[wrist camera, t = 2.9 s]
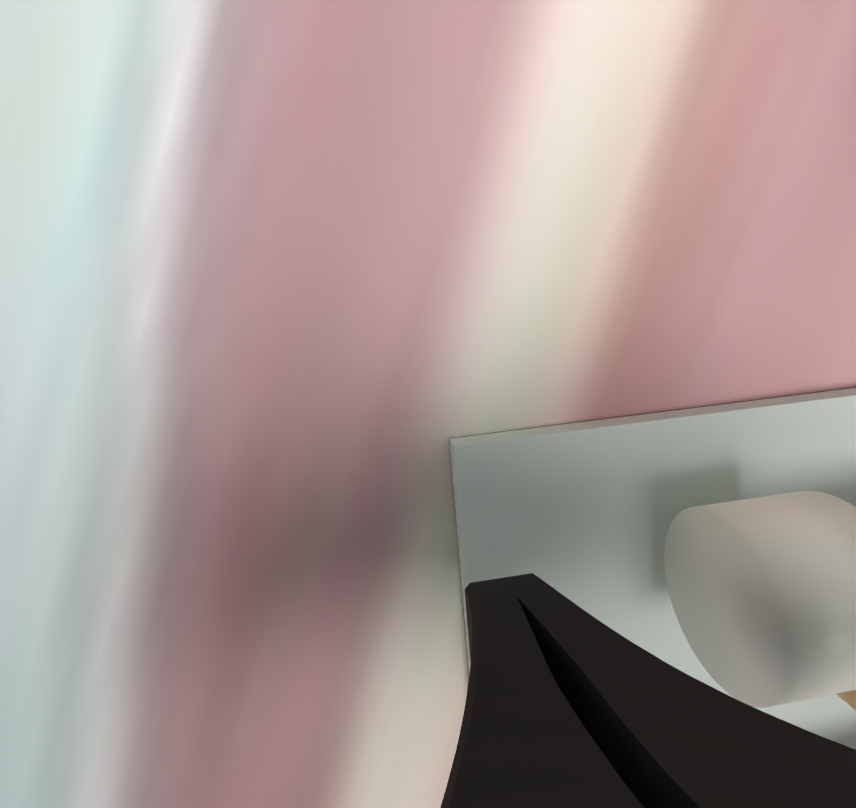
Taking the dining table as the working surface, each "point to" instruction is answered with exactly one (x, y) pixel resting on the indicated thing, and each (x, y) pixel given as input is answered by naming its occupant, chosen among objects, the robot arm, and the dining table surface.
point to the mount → (644, 508)
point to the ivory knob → (768, 594)
